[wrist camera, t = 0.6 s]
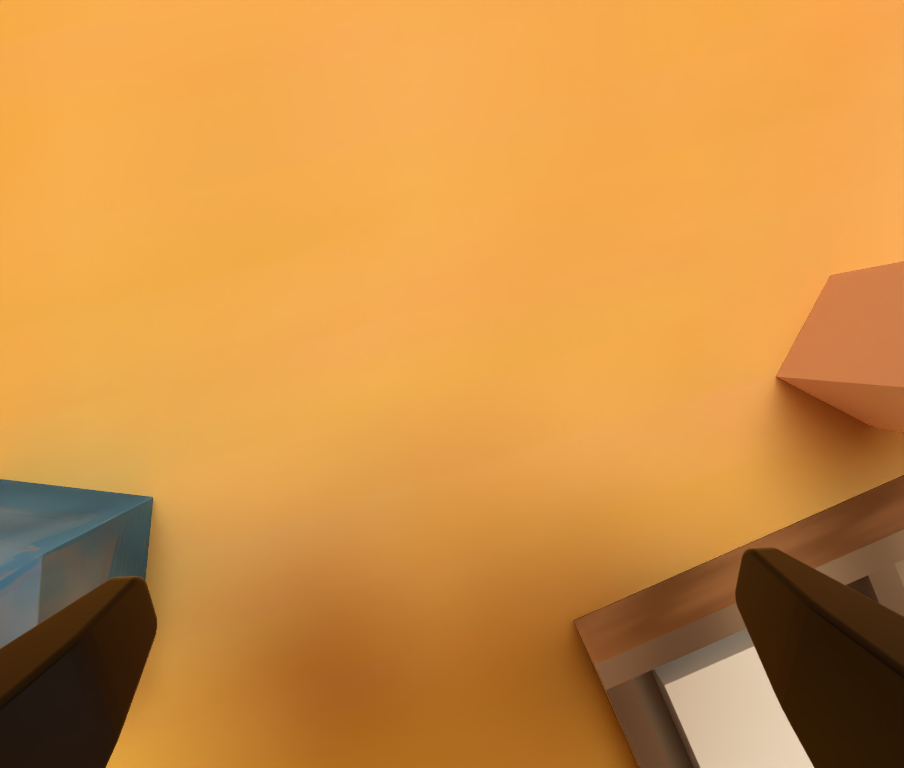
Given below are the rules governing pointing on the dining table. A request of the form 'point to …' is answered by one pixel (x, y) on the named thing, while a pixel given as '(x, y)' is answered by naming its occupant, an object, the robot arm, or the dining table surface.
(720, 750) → the napkin stack
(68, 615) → the robot arm
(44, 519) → the perfume bottle
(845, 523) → the rack
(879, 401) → the clay blank
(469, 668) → the dining table surface
